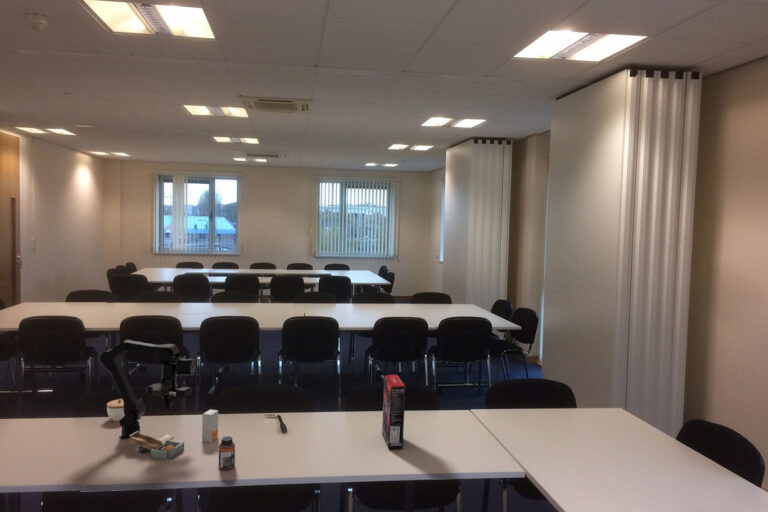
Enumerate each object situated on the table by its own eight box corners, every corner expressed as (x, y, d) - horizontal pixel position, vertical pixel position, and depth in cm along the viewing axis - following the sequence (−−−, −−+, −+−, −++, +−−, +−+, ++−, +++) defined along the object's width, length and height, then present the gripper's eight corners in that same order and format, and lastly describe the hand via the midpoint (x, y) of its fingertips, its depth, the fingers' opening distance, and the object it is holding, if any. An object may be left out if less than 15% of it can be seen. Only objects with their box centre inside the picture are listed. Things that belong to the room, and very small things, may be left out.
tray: (150, 457, 202) (150, 450, 201) (166, 447, 211) (166, 440, 211) (168, 460, 200) (168, 452, 200) (184, 449, 210) (184, 442, 209)
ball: (172, 452, 203) (166, 455, 204) (177, 449, 206) (171, 452, 207) (169, 445, 203) (162, 448, 204) (174, 442, 207) (167, 445, 207)
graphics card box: (381, 434, 231) (382, 374, 229) (396, 433, 232) (397, 374, 230) (388, 450, 214) (390, 386, 212) (404, 449, 215) (406, 385, 214)
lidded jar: (125, 423, 235) (125, 403, 235) (101, 422, 236) (101, 402, 235) (136, 414, 246) (136, 395, 246) (114, 414, 246) (114, 395, 246)
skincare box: (211, 442, 217) (211, 414, 216) (201, 441, 218) (202, 414, 217) (218, 437, 223) (218, 410, 222) (209, 436, 224) (209, 409, 223)
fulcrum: (138, 453, 205) (138, 447, 205) (148, 447, 211) (148, 441, 211) (141, 453, 205) (141, 447, 205) (151, 447, 211) (151, 441, 211)
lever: (128, 440, 207) (129, 435, 206) (149, 428, 219) (150, 423, 219) (153, 451, 204) (154, 445, 204) (173, 438, 217) (174, 433, 217)
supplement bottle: (220, 463, 198) (220, 434, 197) (236, 463, 199) (236, 434, 198) (216, 470, 192) (217, 441, 192) (233, 470, 193) (233, 441, 192)
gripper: (137, 377, 214) (137, 414, 215) (176, 381, 210) (176, 419, 211) (155, 370, 225) (155, 405, 226) (192, 374, 221) (192, 410, 221)
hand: (169, 410), depth 221 cm, fingers closed
